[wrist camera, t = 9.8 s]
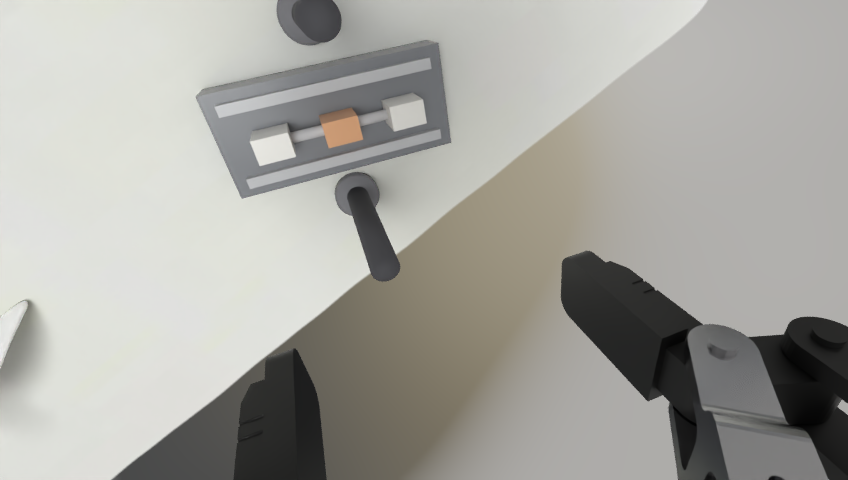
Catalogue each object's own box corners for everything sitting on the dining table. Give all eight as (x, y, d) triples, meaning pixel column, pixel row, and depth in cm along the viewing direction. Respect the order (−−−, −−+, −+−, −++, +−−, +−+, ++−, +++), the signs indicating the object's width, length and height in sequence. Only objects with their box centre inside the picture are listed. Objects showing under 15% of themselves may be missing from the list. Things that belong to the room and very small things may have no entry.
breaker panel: (426, 40, 34) (440, 43, 31) (439, 133, 38) (453, 144, 35) (202, 89, 31) (194, 98, 28) (244, 185, 35) (241, 201, 32)
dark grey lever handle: (336, 171, 37) (358, 242, 25) (379, 173, 38) (418, 242, 27) (333, 211, 38) (353, 294, 27) (375, 212, 40) (409, 292, 28)
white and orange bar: (412, 92, 32) (423, 99, 30) (416, 115, 33) (426, 123, 31) (252, 131, 30) (249, 141, 28) (261, 154, 31) (259, 166, 29)
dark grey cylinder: (277, -23, 29) (275, -43, 17) (334, -11, 30) (366, -21, 19) (276, 39, 30) (274, 57, 19) (330, 48, 32) (357, 70, 21)
